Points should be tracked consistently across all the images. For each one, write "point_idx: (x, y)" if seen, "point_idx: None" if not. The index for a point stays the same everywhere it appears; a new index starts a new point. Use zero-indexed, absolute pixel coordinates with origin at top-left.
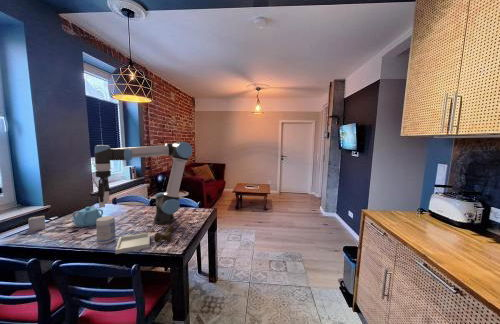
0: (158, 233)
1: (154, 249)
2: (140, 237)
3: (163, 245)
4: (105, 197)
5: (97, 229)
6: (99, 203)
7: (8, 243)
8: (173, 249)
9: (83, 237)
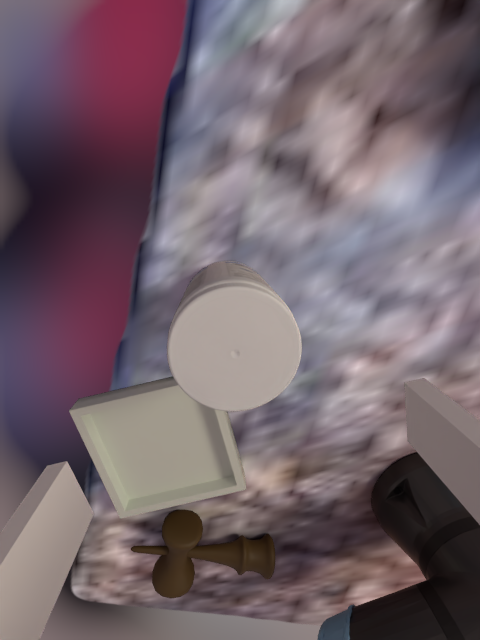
0: (180, 552)
1: (109, 520)
2: (221, 451)
3: (140, 540)
4: (457, 453)
5: (186, 293)
6: (4, 535)
7: None
8: (103, 574)
9: (308, 137)
